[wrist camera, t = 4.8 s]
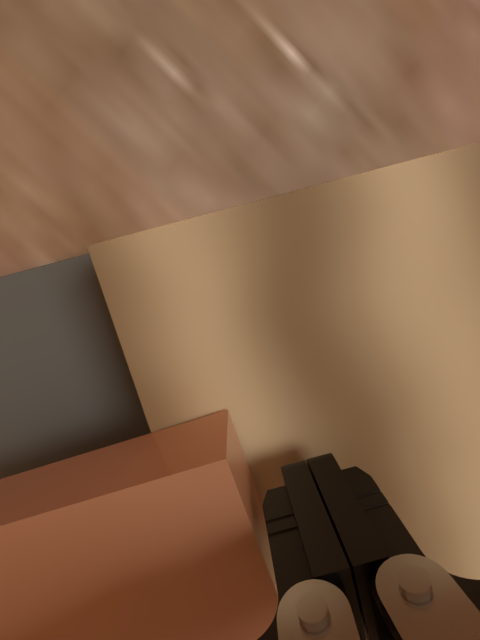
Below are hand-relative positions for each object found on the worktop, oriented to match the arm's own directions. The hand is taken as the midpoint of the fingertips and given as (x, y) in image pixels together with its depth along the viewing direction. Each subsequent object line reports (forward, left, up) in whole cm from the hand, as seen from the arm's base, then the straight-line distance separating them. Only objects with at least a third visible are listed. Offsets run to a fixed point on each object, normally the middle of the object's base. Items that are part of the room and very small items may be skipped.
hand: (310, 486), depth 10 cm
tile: (+6, +1, -1) cm, 6 cm away
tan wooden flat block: (-2, 0, -5) cm, 5 cm away
